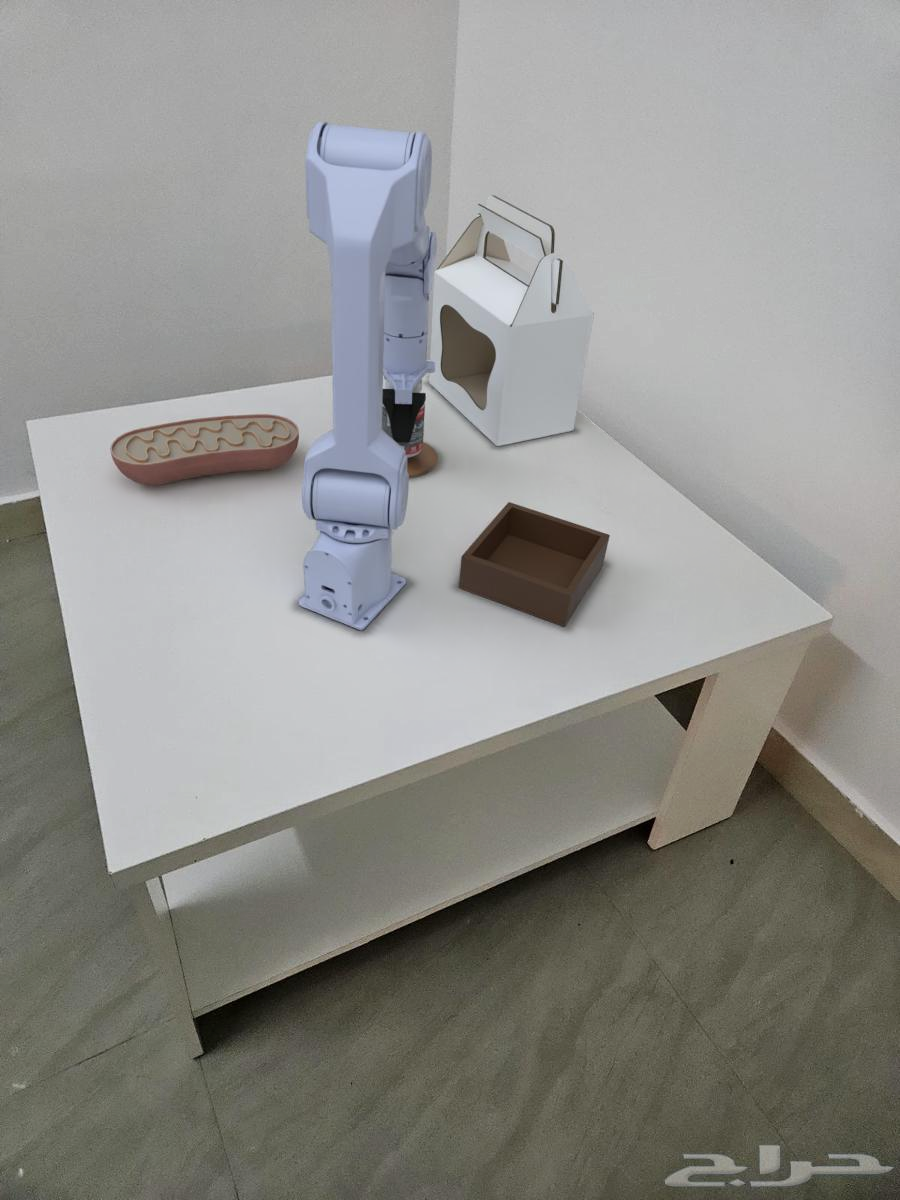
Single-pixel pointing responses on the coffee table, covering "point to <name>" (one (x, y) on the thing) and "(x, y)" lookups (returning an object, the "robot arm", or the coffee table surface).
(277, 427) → the anatomical model
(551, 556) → the open box
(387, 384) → the pill bottle
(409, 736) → the coffee table surface
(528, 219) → the gable box
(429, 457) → the coaster
